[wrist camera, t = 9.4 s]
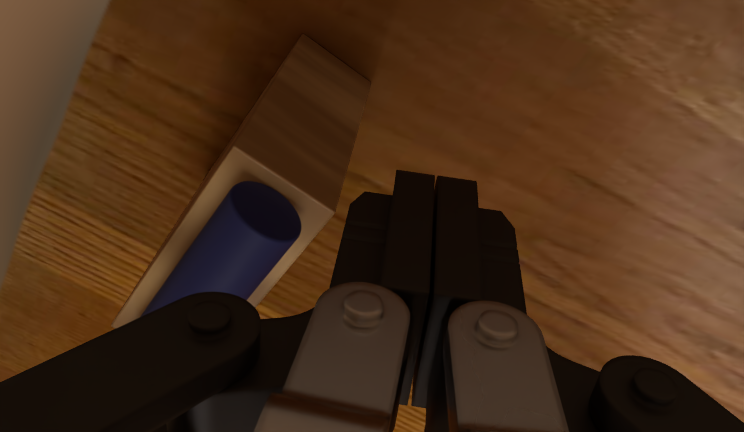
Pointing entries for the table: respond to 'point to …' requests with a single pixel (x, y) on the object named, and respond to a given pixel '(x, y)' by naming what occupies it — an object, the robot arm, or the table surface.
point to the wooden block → (276, 161)
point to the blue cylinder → (234, 246)
